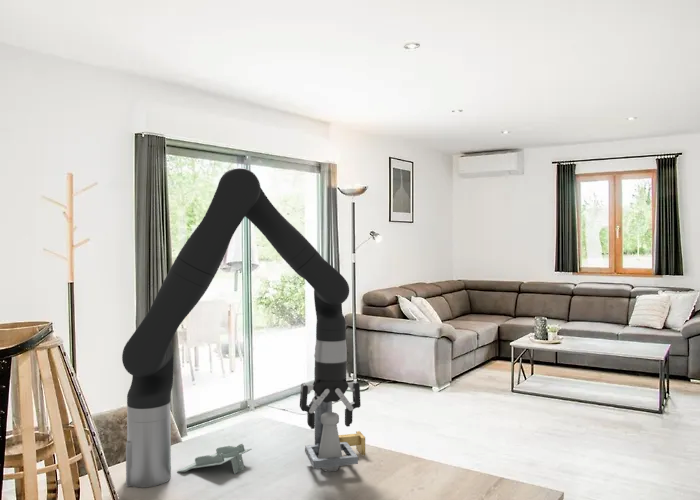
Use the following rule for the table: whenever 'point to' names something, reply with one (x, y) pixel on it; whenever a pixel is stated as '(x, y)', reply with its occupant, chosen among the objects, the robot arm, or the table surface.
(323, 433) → the salt shaker
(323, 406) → the square post stand
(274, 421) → the table surface
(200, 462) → the metal bracket
